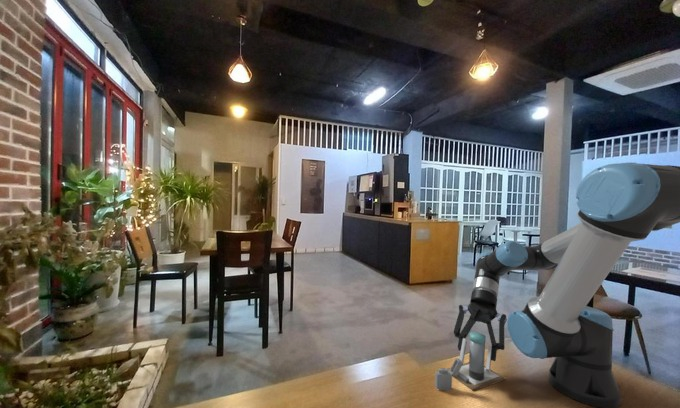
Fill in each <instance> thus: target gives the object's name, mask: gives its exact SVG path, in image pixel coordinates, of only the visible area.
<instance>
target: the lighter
mask: <svg viewBox="0 0 680 408" xmlns="http://www.w3.org/2000/svg"><path fill="white" fill-rule="evenodd" d="M463 364H464V363H463V362H462V361H461V360H459V358H457V357H455V358H454V361H453V363H452V365H451V366H450V368H451V369H450V371H448V370H447V368H446V367H439V369H438V370H435V371H434V372H435V373H434V387H436V388H437V389H439V390H438V391H452V389H453V388H452V386H453V376H452V375H454V376H457V375H458V373H459V371H460V369H461V367H462V365H463ZM436 388H435V389H436ZM437 389H436V390H437Z"/></svg>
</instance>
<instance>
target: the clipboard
mask: <svg viewBox="0 0 680 408" xmlns="http://www.w3.org/2000/svg"><path fill="white" fill-rule="evenodd" d="M450 369H451V367H448V368H447V370H448V371H450ZM452 378H454V379H456V381H458V382H460V383H461V384H462V385H464V386H465V387H467V388H468V389H469V390H471V391H472V392H474V391H477V390H480V389H482V388H485V387H488V386H492V385H494V384H496V383H499V382H502V381H505V377H504V376H502V375H501V374H499V373H497V372H496V371H494V370H493V369H491V368H490V373H487V371H486V365H484V380H475V379H473V378H471V377H470V376H469V361H468V362H464V363H463V365H462V367H461V369H460V371H459V373H458V375H457V376H454V375H452Z"/></svg>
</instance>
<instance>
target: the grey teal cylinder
mask: <svg viewBox="0 0 680 408" xmlns="http://www.w3.org/2000/svg"><path fill="white" fill-rule="evenodd" d="M485 350H486V335H485V334H483V333H481V332H477V331H470V332H469V351H468V352H469V356H468V357H469V358H468V362H469V376H470V377H471V378H473V379H475V380H484V366H485V358H486V357H485V354H486V351H485Z"/></svg>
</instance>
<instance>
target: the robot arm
mask: <svg viewBox="0 0 680 408" xmlns="http://www.w3.org/2000/svg"><path fill="white" fill-rule="evenodd" d="M575 198H576V199H577V201H576V205H577V207H578V209H579V211H578V213H577V218H578V219H579V220H580V223H579V224H576V225H574V226H572V227H571V228H569V229H567V230H565V231H563V232H560V233H559V234H557V235H555V236H553V237H551V238H550V239H547V240H544V241H543V242H541V243H539V244H537V245H534V246H533V245H532V246H531V245H529V246H528V245H527V246H525V245H523V244H522V243H519V242H516V241H513V240H509V241H506V242H505V243H502V244H500V245H499V246H498V247H497V248H496V249H495V250H493V251H485V252H481V253H479V255H478V257H477V260H476V263H475V264H476V266H475V273H474V279H473V283H472V292H471V295H470V302H469V304H468V305H467V306H464V305H462V304H459V305H458V309H459V311H458V314H457V319H456V321H455V326H454V329H453V334H454V337H455V338H456V339H457V338H458V343H457V350H458V351H460V352H459V353H460V354H459V358H458V359H459V360H461V361H462V362H463V364H464V363H465V357H466V356H465V355H466V349H467V343H468V342H467V337H468V335H469V334H470V332H471V330H472V328H473V326H474V325H476V323H477V322H478V323H479V322H481V323H483V324H486V327H487V330H488V335H489V340H490V343H491V345H490V344H489V345H488V348H487V357H486V363H485V364H486V365H485V366H486V371H487V373H490V369H491V367H492V361H493V362H496V360H497V352H498V350H502V351H504V350H505V325H507V330H508V334H509V336H510V339H511V340H512V342H513V344H514V345H515V347H516V349H518V351H519V352H520V353H522V354H523V355H524V356H526V357H528V358H531V359H539V360H541V359H544V360H545V359H552V358H554V359H553V361H552V363H551V366H550V368H549V371H548V382H549V383H550V385H552V386H553V388H555V389H556V390H558V391H559V392H560V393H562V394H564V395H565V396H567V397H569V398H571V399H573V400H575V401H578V402H580V403H583V404H584V405H589V406H591V407H595V408H596V407H597V408H619V406H621V404H622V403H621V402H622V401H621V399H622V397H621V391H620V388H619V386H618V382H617V380H616V378H615V376H614V373H613V339H614V338H613V334H614V333H613V332H614V331H615V330H614V328H613V327H614V325H613V318H612V317H611V316H610V315H609V314H608V313H607V312H605V311H603V310H601V309H597V308H594V307H591V306H588V304H589V303H590V301H591V300H592V298H593V297H594V295H595V294H596V292H597V291H598V290H599V288H600V287H601V285H602V284H603V282H605V279H606V278H607V276H608V275H609V274H610V272H611V271H612V270H613V268H614V267H615V266H616V264H617V262H618V261H619V260H620V259H621V257H622V256H623V254H624V252H626V249H627V248H628V247H629V246H630V244H631V243H633V242H637V241H638V242H639V241H644V240H646V239H647V237H648V236H649V235H650V234H651V232H657V231H660V230H662V229H665V228H668V227H671V226H674V225H676V224H679V223H680V166H677V165H669V164H667V165H662V164H659V165H658V164H651V163H650V164H647V163H637V162H621V163H619V162H618V163H617V162H616V163H609V164H605V165H602V166H599V167H596V168H595V169H593V170H591V171H590V172H588V173H587V174H586V175H585V176H584V177H583V178H582V180H581V181H580V182H579V184H578V186H577V189H576V193H575ZM523 270H524V271H528V270H529V271H531V270H533V271H535V270H536V271H541V270H543V271H550V270H553V272H552V274H551V275H550V277H549V278H548V280H547V283H546V284H545V286H544V287H543V289H542V291H541V293H540V295H539V296H533V297H531V298H529V300H528V301H527V303H526V305H525V306H524V308H523V310H515V311H512V312H510V314H508V317H507V315H506V314H505V313H502V314H501V313H499V312H498V311H497V304H498V297H499V296H498V295H499V285H500V280H501V277H502V276H504V275H507V273H509V272H511V271H523ZM467 312H469V314H470V316H469V318H468V320H467V321H466V323H465V325H464V326H463V322H464V319H465V315H466V314H467ZM496 318H497V321H498V327H499V328H498V335H499V336H498V342H497V341H496V337H495V334H494V329H493V324H492V321H493V320H494V319H496ZM506 323H507V324H506ZM462 326H463V328H462ZM461 329H462V330H461Z"/></svg>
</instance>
